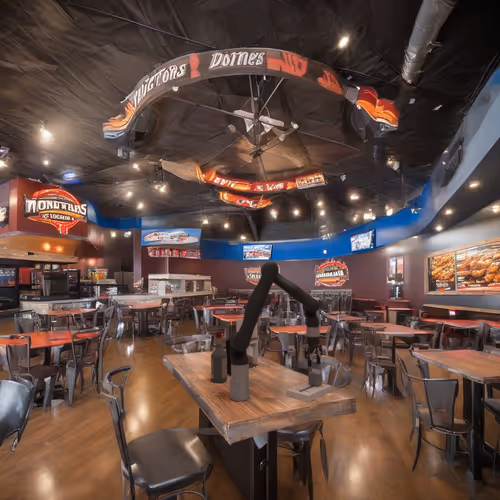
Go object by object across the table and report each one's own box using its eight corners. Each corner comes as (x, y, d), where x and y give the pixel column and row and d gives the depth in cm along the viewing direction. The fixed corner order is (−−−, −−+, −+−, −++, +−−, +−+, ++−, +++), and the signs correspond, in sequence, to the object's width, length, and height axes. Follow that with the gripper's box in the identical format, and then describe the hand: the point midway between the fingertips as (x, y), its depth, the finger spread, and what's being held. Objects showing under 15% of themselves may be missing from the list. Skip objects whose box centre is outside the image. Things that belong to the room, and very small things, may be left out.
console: (308, 402, 152) (308, 395, 152) (286, 396, 161) (286, 389, 162) (331, 391, 167) (331, 385, 167) (310, 386, 177) (309, 380, 177)
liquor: (227, 379, 196) (227, 331, 200) (225, 383, 187) (224, 332, 191) (213, 379, 197) (213, 331, 201) (210, 383, 188) (210, 332, 192)
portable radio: (232, 372, 213) (232, 335, 217) (239, 373, 210) (238, 335, 213) (224, 374, 207) (224, 336, 211) (231, 375, 204) (230, 337, 207)
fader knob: (318, 386, 165) (317, 374, 166) (308, 384, 170) (308, 372, 170) (322, 384, 168) (321, 372, 169) (312, 382, 172) (312, 371, 173)
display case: (237, 367, 225) (236, 319, 230) (246, 365, 234) (245, 318, 239) (249, 369, 219) (248, 319, 224) (258, 366, 227) (256, 318, 232)
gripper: (314, 333, 180) (315, 362, 178) (300, 336, 170) (301, 366, 168) (325, 334, 175) (327, 364, 172) (311, 337, 165) (312, 368, 163)
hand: (314, 365), depth 170 cm, fingers open, 8 cm apart
